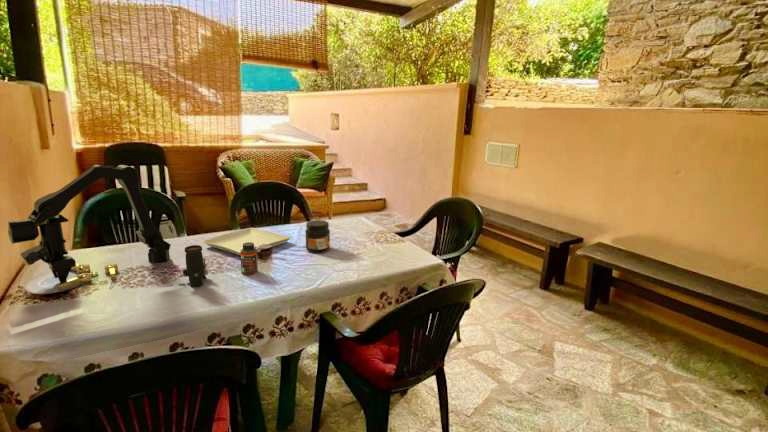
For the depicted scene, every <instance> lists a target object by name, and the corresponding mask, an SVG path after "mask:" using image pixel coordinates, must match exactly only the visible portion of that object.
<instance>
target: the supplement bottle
mask: <svg viewBox="0 0 768 432" xmlns="http://www.w3.org/2000/svg"><path fill="white" fill-rule="evenodd" d="M240 254H241V255H240V271H241V273H242V274H243V275H245V276H250V275H255V274H257V273H258V272H259V267H258V266H259V263H258V253H257V250H256V249H255V248H254V243H252V242H247V243H244V244H243V249H242V250H241V251H240Z"/></svg>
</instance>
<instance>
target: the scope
mask: <svg viewBox="0 0 768 432" xmlns="http://www.w3.org/2000/svg"><path fill="white" fill-rule="evenodd" d="M202 251H203V246H201V245H199V244H198V245H197V244H194V245H193V244H192V245H188V246H185V247H184V253H185V267H186V268H185V269H183V270H182V275H183V277H186V278H187V277H188V281H189V284H190V285H189V286H190V288H192V289H195V288H196V289H197V288H201V287H203V286H204V280H206V279H207V277H206V276H207V275H208V274H209V272H208V271H209V270H208V269H207V266H208V265H207V263H206V258H205V257H203V252H202Z"/></svg>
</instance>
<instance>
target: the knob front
mask: <svg viewBox="0 0 768 432" xmlns="http://www.w3.org/2000/svg"><path fill="white" fill-rule="evenodd" d="M70 271H73V272H76V274H77V275H78V274H82V273H90V272H92V271H91V266H90V264H86V263H85V264H79V263H76V266H74V267H72V268H71V270H70Z"/></svg>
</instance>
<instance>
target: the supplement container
mask: <svg viewBox="0 0 768 432" xmlns="http://www.w3.org/2000/svg"><path fill="white" fill-rule="evenodd" d="M305 226H306V229H305V230H304V231H305V250H306V251H308V252H310V253H313V254H314V253H316V254H320V253H325V252H327V251H329V250H330V248H331V242H330V241H331V230H330V228H329V227H330V224H329V221H326V220H323V219H321V220H320V219H319V220H317V219H315V220H314V219H313V220H310V221H307V222H306V225H305Z"/></svg>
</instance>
